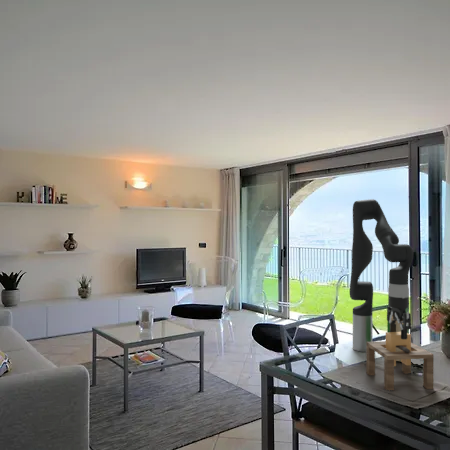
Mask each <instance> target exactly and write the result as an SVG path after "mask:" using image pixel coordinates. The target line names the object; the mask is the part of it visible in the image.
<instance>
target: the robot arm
mask: <svg viewBox="0 0 450 450" xmlns="http://www.w3.org/2000/svg"><path fill="white" fill-rule="evenodd" d="M382 209H383V208H382V207H381V205H380V203H379V202H378V201H377V200H376V199H374V198H371V199H369V198H368V199H361V200H359V199H357V200H355V201H354V203H353V205H352V246H351V273H350V283H349V297H350V299H351V300H354V301H364V302H363V303H362V304H360V305H357V306H354V307H353V308H352V349H353V350H355V351H357V352H362V353H363V352H364V353H366V342H373V303H374V301H373V300H374V285H373V283H372V282H371V281H361V280H360V281H359V279H360V277H361V275H362V274H363V272H364V271H365V270H366V268H367V267H368V266H369V265H370V263H371V262H372V260H373V252H374V251H373V250H374V246H373V243H372V242H371V239H370V238H369V237H368V235H367V233H366V232H365V230H364V226H363V223H364V221H371V220H375V221H376V225H375V228H374V235H375V237H376V239H377V241H378V242H379V243H380V245H381V247H382V251H383V255H384V258H385V260H387V261H388V262H390V263H399V264H398V266H396V267H393V268H391V269H389V271H388V296H387V297H388V299H387V301H388V302H387V303H388V304H387V305H388V306H386V321H389V323H390V332H396V324H395V323H396V322H397V321H398V324H400V327H401V339H407V330H408V329H409V330H412V315H411V313H410V312H409V313H406V308H408V307H409V308H410V288H409V273H410V269H411V266H412V263H413V259H414V249H413V248H412V246H411V245H410V244H404V243H401V244H400V239H399V237H398V235H397V234H396V232H395V231H394V229H393V228H392V227H391V226H390V224H389V221H388V220H387V217H386V215H385V213H384V211H383V210H382ZM389 316H390V318H389ZM407 323H408V324H407Z"/></svg>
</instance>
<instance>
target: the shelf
mask: <svg viewBox="0 0 450 450" xmlns="http://www.w3.org/2000/svg"><path fill="white" fill-rule="evenodd" d="M396 348H399V349H401V350H402V351H398V352H390V351H389V350H387V349H386V340H385V341H384V340H383V341H382V340H381V341H372V342H366V352H365V354H366V355H365V356H366V360H365V361H366V363H365V364H366V366H365V367H366V369H365V370H366V373H365V374H367V375H368V376H375V375H376V373H375V372H376V353H377V354H378V355H380V356H381V357H383V363H384V365H383V367H384V370H383V377H384V378H383V389H385V390H386V391H387V390H389V391H388V392H391V391H390V390H393V391H394V390H395V366H394V360H398V359H420V360H423V365H422V366H423V367H422V369H423V371H422V375H423V377H422V382H423V383H422V387H423V386H424V388H425V389H427V390H433V389H434V353H433V352H430V351H429V350H426V349H425V348H423V347H421V346H419V345H417V344H415V343H413V342H412V341H411V351H410V350H409V349H407V348H406V347H404V346H402V345H398V346H396ZM401 372H402V373H403V374H405V375H409V374H408V373H411V374H412V364H411V365H405V364H404V363H402V362H401Z"/></svg>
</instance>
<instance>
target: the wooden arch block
mask: <svg viewBox="0 0 450 450" xmlns="http://www.w3.org/2000/svg"><path fill="white" fill-rule="evenodd" d="M385 341H386V348H385V349H387V350H389V351H390V352H396V346H398V345H402V346H404V347H406V348H407V349H409V350H410V351H411V342H412V334H411V333H410V332H409V333H407V339H401V332H385ZM401 351H402V350H401ZM400 362H401V364H402V363H404V364H405V365H411V366H412V363H411V359H401V361H400ZM396 366H397V361H396V360H394V367H396Z"/></svg>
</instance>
